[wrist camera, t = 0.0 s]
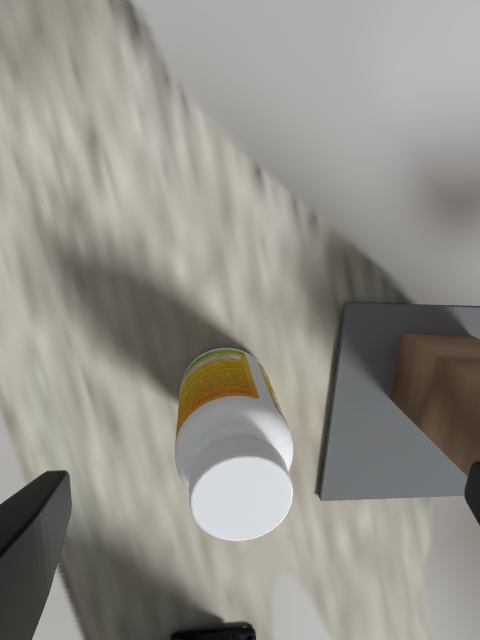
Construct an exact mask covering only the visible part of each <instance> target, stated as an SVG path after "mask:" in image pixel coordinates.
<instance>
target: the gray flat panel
mask: <svg viewBox="0 0 480 640" xmlns="http://www.w3.org/2000/svg"><path fill="white" fill-rule="evenodd" d="M402 333H406V334H463V335H472V336H474V337H476V338H478V339H480V306H455V305H418V304H381V303H345V304H344V312H343V319H342V327H341V334H340V342H339V350H338V357H337V365H336V372H335V380H334V387H333V395H332V402H331V410H330V417H329V425H328V432H327V440H326V448H325V455H324V463H323V470H322V478H321V485H320V493H319V498H320V500H321V501H331V500H359V499H386V498H414V497H440V496H441V497H442V496H464V489H465V485H466V481H467V476H466V475H465V474H464V473H463V472H462V471H461V470H460V469H459V468H458V467H457V466H456V465H455V464H454V463H453V462H452V461H451V460H450V459H449V458H448V457H447V456H446V455H445V454H444V453H443V452H442V451H441V450H440V449H439V448H438V447H437V446H436V445H435V444H434V443H433V442H432V441H431V440H430V439H429V438H428V437H427V436H426V435H425V434H424V433H423V432H422V431H421V430H420V429H419V428H418V427H417V426H416V425H415V424H414V423H413V422H412V421H411V420H410V419H409V418H408V417H407V416H406V415H405V414H404V413H403V412H402V411H401V410H400V409H399V408H398V407H397V406H396V405H395V404H394V403H393V402H392V401H391V400H390V399H391V393H392V388H393V382H394V377H395V371H396V365H397V360H398V354H399V349H400V343H401V338H402Z"/></svg>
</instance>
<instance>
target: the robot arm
mask: <svg viewBox="0 0 480 640" xmlns="http://www.w3.org/2000/svg"><path fill="white" fill-rule="evenodd" d="M464 496H465V499H466V502H467V504H468V506H469V507H470V509H471V511H472V513H473V515H474V516H475V518H476V520H477V522H478V523H479V525H480V461H475V462H473V463H472V465H471V466H470V470H469V474H468V477H467V481H466V485H465V489H464ZM71 508H72V501H71V488H70V477H69V473H68V472H67V471H65V470H59V471H46V472H45V473H43V474H42V475H40V476H39V477H37V478H36V479H35V480H33V481H32V482H31V483H29V484H28V485H26V486H25V487H24V488H22V489H21V490H20V491H18V492H17V493H15V494H14V495H13V496H11V497H10V498H8V499H7V500H6V501H4V502H3V503H2V504H0V640H32V637H33V635H34V632H35V630H36V627H37V625H38V622H39V619H40V617H41V614H42V612H43V609H44V606H45V603H46V600H47V598H48V595H49V592H50V588H51V585H52V581H53V578H54V574H55V570H56V567H57V563H58V559H59V556H60V552H61V548H62V545H63V541H64V537H65V534H66V530H67V526H68V523H69V519H70V515H71ZM170 640H256V633H255V630H254V629H253V628H238V629H225V630H211V631H198V632H185V633H175V634H173V635H171V637H170Z"/></svg>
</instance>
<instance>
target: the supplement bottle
mask: <svg viewBox="0 0 480 640" xmlns="http://www.w3.org/2000/svg"><path fill="white" fill-rule="evenodd" d="M292 458H293V442H292V437H291V434H290V431H289V428H288V425H287V422H286V420H285V418H284V416H283V413H282V411H281V408H280V406H279V403H278V401H277V399H276V396H275V394H274V391H273V389H272V386H271V384H270V381H269V379H268V377H267V374H266V372H265V371H264V369H263V367H262V366H261V364H260V363H259V362H258V361H257V360H256V359H255V358H254V357H253V356H251V355H250V354H248V353H246V352H244V351H242V350H239V349H234V348H217V349H213V350H210V351H207V352H205V353H203V354H201V355H200V356H198V357H197V358H196V359H195V360H194V361H193V362H192V363H191V364H190V365H189V366H188V368H187V369H186V371H185V373H184V375H183V377H182V381H181V386H180V395H179V408H178V421H177V432H176V443H175V461H176V467H177V470H178V473H179V476H180V478H181V479H182V481H183V483H184V484H185V486H186V487H187V488H188V489H189V501H190V509H191V512H192V515H193V517H194V519H195V521H196V522H197V524H198V525H199V526H200V527H201V528H202V529H203V530H204V531H206V532H207V533H209V534H211V535H212V536H215V537H217V538H220V539H224V540H231V541H242V540H249V539H253V538H257V537H259V536H262V535H264V534H266V533H268V532H269V531H271V530H272V529H274V528H275V527H276V526H277V525H278V524H279V523H280V522H281V521H282V520H283V519H284V518H285V516H286V515H287V513H288V511H289V509H290V506H291V503H292V497H293V489H292V483H291V480H290V477H289V473H288V471H289V468H290V465H291V462H292Z"/></svg>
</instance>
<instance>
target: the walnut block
mask: <svg viewBox="0 0 480 640" xmlns="http://www.w3.org/2000/svg"><path fill="white" fill-rule="evenodd" d="M390 400H391V401H392V402H393V403H394V404H395V405H396V406H397V407H398V408H399V409H400V410H401V411H402V412H403V413H404V414H405V415H406V416H407V417H408V418H409V419H410V420H411V421H412V422H413V423H414V424H415V425H416V426H417V427H418V428H419V429H420V430H421V431H422V432H423V433H424V434H425V435H426V436H427V437H428V438H429V439H430V440H431V441H432V442H433V443H434V444H435V445H436V446H437V447H438V448H439V449H440V450H441V451H442V452H443V453H444V454H445V455H446V456H447V457H448V458H449V459H450V460H451V461H452V462H453V463H454V464H455V465H456V466H457V467H458V468H459V469H460V470H461V471H462V472H463V473H464V474H465V475H466V476H467V477H468V474H469V470H470V466H471V465H472V463H473V462H475V461H480V339H478V338H476V337H474V336H472V335H463V334H406V333H402V338H401V343H400V349H399V354H398V360H397V365H396V371H395V377H394V382H393V388H392V393H391V399H390Z"/></svg>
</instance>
